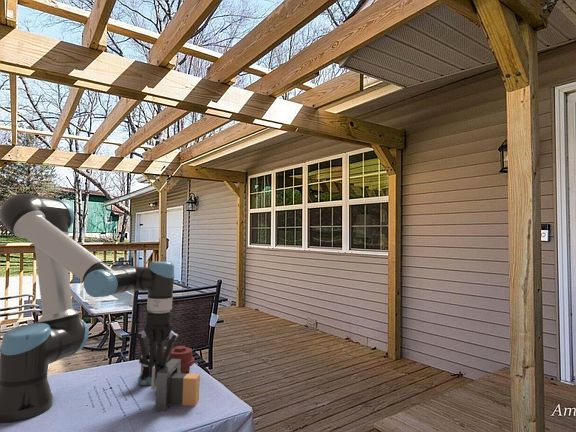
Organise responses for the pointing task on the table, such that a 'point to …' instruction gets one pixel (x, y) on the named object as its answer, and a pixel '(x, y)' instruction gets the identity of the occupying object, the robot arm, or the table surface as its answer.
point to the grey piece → (165, 384)
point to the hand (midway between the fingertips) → (154, 387)
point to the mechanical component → (183, 357)
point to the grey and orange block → (184, 389)
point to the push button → (144, 374)
